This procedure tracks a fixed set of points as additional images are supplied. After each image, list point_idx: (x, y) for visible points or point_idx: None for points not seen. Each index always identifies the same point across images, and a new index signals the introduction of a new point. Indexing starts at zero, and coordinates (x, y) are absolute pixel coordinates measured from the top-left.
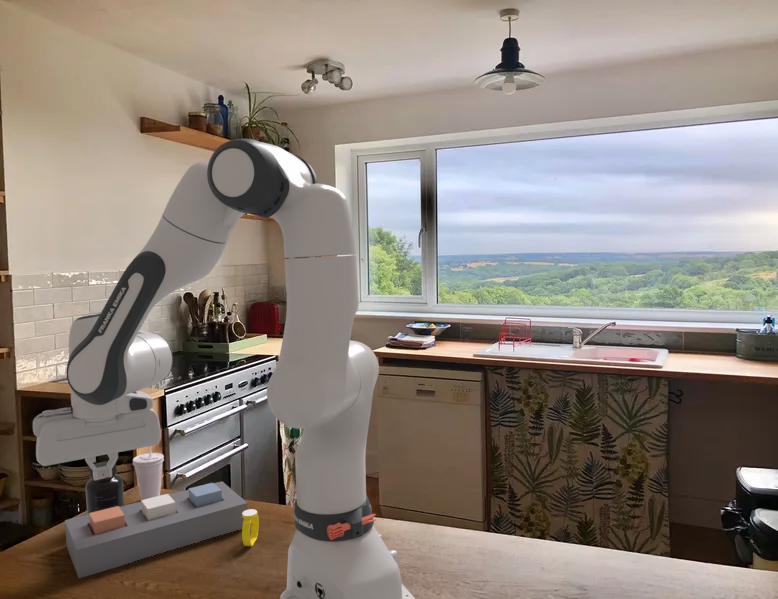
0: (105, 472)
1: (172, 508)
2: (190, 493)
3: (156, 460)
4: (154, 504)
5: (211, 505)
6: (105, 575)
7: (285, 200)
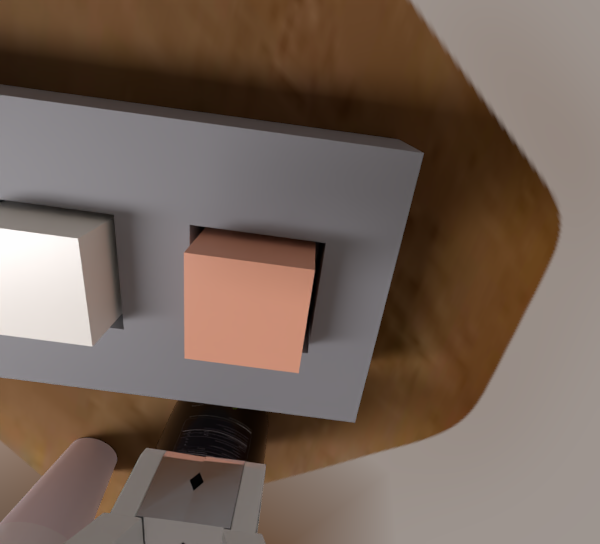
0: (175, 491)
1: None
2: None
3: None
4: (42, 265)
5: None
6: (327, 93)
7: None
